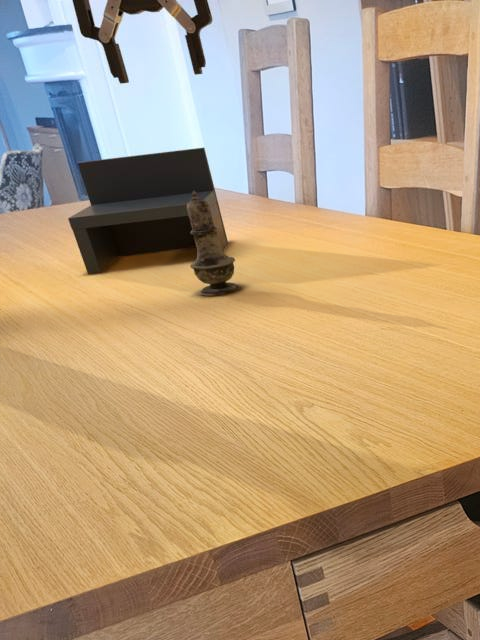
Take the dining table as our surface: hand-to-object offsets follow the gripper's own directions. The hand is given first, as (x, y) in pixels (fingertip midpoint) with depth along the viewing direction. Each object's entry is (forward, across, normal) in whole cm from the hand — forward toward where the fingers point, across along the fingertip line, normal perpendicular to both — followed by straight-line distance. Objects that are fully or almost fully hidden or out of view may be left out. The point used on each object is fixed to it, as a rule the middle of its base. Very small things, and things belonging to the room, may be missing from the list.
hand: (161, 78), depth 96 cm
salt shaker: (+24, 0, -2) cm, 24 cm away
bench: (+24, +13, -32) cm, 42 cm away
